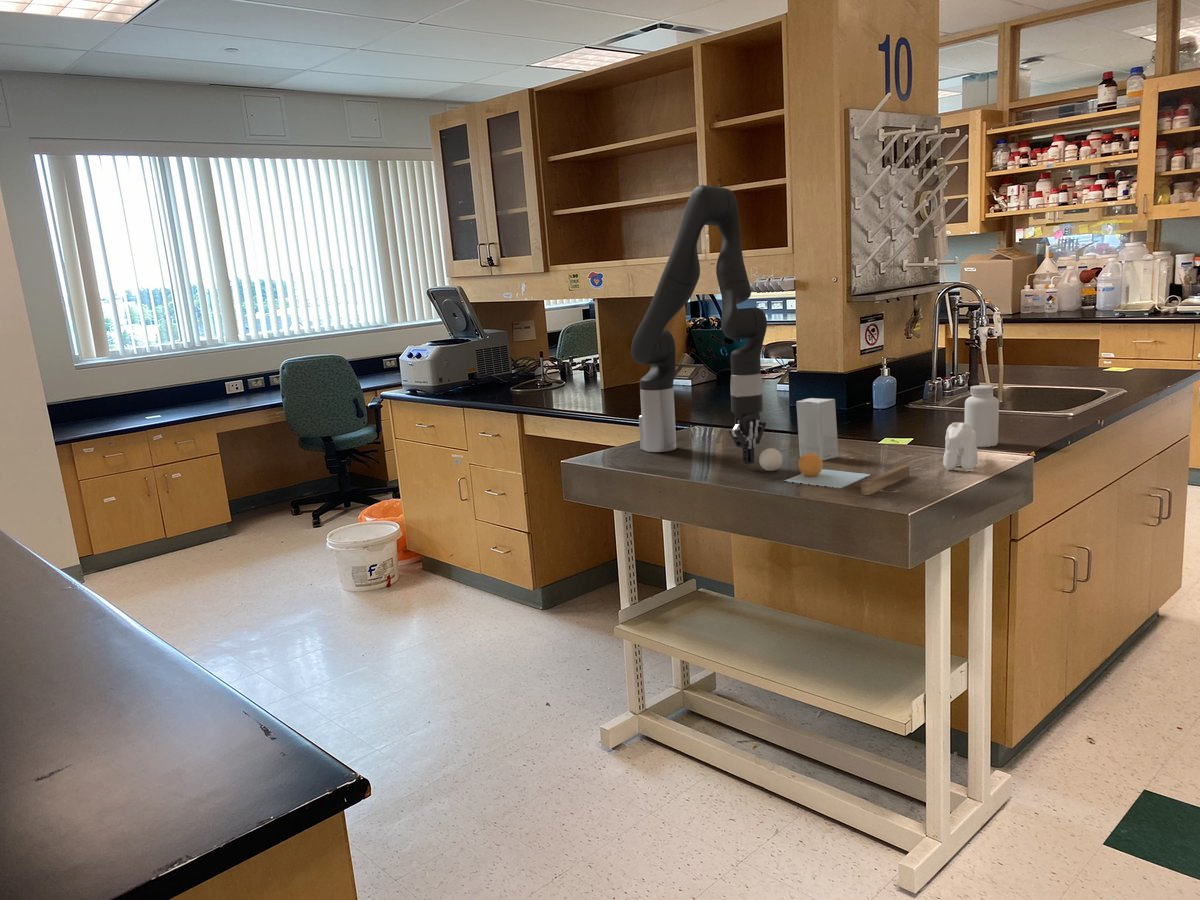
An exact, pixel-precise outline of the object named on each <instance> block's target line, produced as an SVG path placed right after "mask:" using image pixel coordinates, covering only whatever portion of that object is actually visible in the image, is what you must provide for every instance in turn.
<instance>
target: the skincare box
mask: <svg viewBox="0 0 1200 900" xmlns="http://www.w3.org/2000/svg"><path fill="white" fill-rule="evenodd" d="M795 403H796V404H795V405H796V415H797V416H796V418H797V431H798V433H797V434H798V447H799V458H801V457H802V456H803V455H804V454H807V453H814V454H817V455H818V456H819V457H820V458H821V459H822V461H827V460H832V459H836V458H838V457H839V443H838V429H837V427H838V426H837V411H836V410H837V409H836V399H835V398H815V397H810V398H804V399H801V400H797V401H796V402H795Z"/></svg>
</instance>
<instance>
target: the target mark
mask: <svg viewBox="0 0 1200 900" xmlns="http://www.w3.org/2000/svg"><path fill="white" fill-rule="evenodd" d="M871 475H872V474H869V473H860V472H859V473H858V472H853V471H852V472H851V471H841V470H835V469H834V470H833V469H823V468H822V471H821V472H820V473H819V474H818V475H816V476H813V477H808V476H805V475H803V474H802V473H800V474H798V475H795V476H792V477H790V478H787V479H784V481H787V482H786V483H792V482H794V484H800V483H802V485H808V484H810V485H811V486H816V485H819V486H818V487H824V486H827V487H826V488H832V487H833V489H834V488H835V489H844V488H846V487H847V486H850V485H852V484H854V483H856V482H858V481H861V480H863V479H865V477H866V478H867V477H870V476H871Z"/></svg>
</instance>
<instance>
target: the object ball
mask: <svg viewBox="0 0 1200 900" xmlns="http://www.w3.org/2000/svg"><path fill="white" fill-rule="evenodd" d="M797 466H798V469H799V472H800V474H803V475H805V476H808V477H813V476H816V475H818V474H819V473H820V472H821V471H822V469H823V468H824V463H823V460H822V459H821V458H820V457H819V456H818V455H817V454H814V453H807V454H804V455H803V456H802V457H799V460H798V464H797Z"/></svg>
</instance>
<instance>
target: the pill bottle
mask: <svg viewBox="0 0 1200 900" xmlns="http://www.w3.org/2000/svg"><path fill="white" fill-rule="evenodd" d="M969 389H970V391H969V393H970V395H971V396H969V397H967V398H966V399H965V401H964V421H963V423H966V424H968V425H969V426H970V427H971V429H972V430H974V431H975V433H976V441H975V444H976V447H977V448H990V447H991V446H992V447H995V446H997V445H998V441H999V421H1000V420H999V419H1000V418H999V415H1000V400H999V399H998V397H995V396H993V395H994V386H993V385H989V384H981V385H980V384H979V385H972V386H970V388H969Z"/></svg>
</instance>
